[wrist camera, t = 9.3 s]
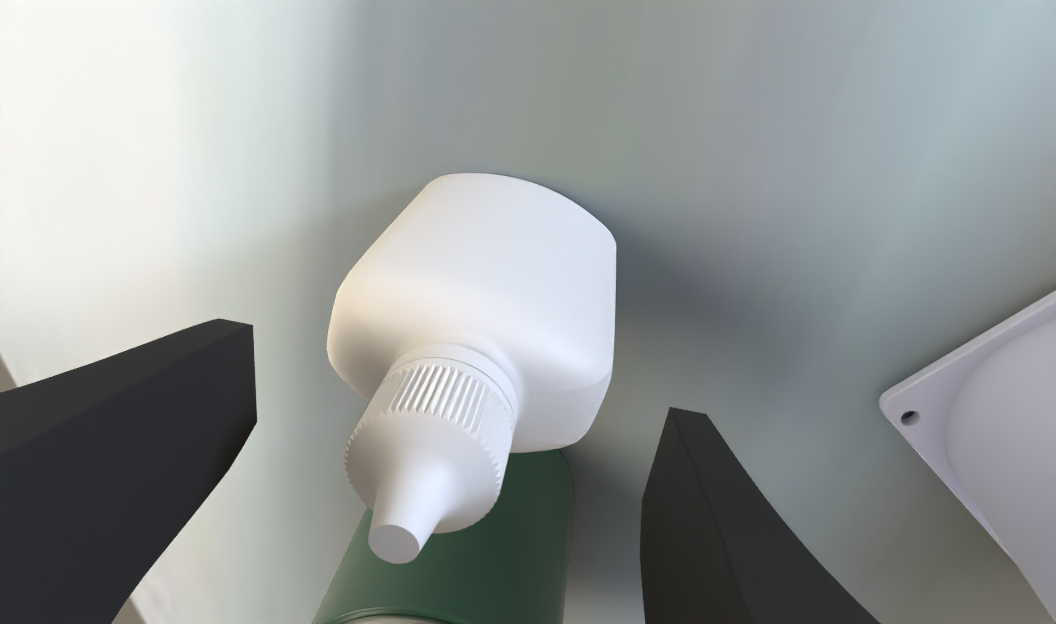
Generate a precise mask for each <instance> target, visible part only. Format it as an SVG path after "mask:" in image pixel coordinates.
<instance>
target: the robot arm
mask: <svg viewBox="0 0 1056 624" xmlns="http://www.w3.org/2000/svg"><path fill="white" fill-rule="evenodd" d="M879 406H880V408H881V410H882V412H883V414H884V415H885V417H886V418H887V419H888V420H889V421H890V422H891V423H892V424H893V426H894V427H895V428H896V429H897V430H898V431H899V432H900V433H901V435H902V436H903V437H904V438H905V439H906V440H907V441H908V443H909V444H910V445H911V446H912V447H913V448H914V449H915V450H916V452H917V453H918V454H919V455H920V456H921V457H922V458H923V459H924V461H925V462H926V463H927V464H928V465H929V466H930V467H931V469H932V470H933V471H934V472H935V473H936V474H937V475H938V476H939V478H940V479H941V480H942V481H943V482H944V483H945V484H946V485H947V487H948V488H949V489H950V490H951V491H952V492H953V493H954V495H955V496H956V497H957V498H958V499H959V500H960V501H961V502H962V504H963V505H964V506H965V507H966V508H967V509H968V510H969V511H970V513H971V514H972V515H973V516H974V517H975V518H976V519H977V520H978V522H979V523H980V524H981V525H982V526H983V527H984V528H985V530H986V531H987V532H988V533H989V534H990V535H991V536H992V537H993V539H994V540H995V541H996V542H997V543H998V544H999V545H1000V546H1001V548H1002V549H1003V550H1004V551H1005V552H1006V553H1007V554H1008V556H1009V557H1010V558H1011V559H1012V560H1013V561H1014V562H1015V563H1016V565H1017V566H1018V568H1019V569H1020V571H1021V572H1022V574H1023V575H1024V577H1025V578H1026V580H1027V581H1028V583H1029V584H1030V585H1031V587H1032V588H1033V590H1034V591H1035V593H1036V594H1037V596H1038V597H1039V599H1040V600H1041V602H1042V603H1043V605H1044V606H1045V608H1046V609H1047V611H1048V612H1049V614H1050V615H1051V617H1052V618H1053V620H1054V621H1055V623H1056V290H1055V291H1053V292H1052V293H1050V294H1048V295H1047V296H1045V297H1043V298H1042V299H1040V300H1038V301H1037V302H1035V303H1033V304H1031V305H1030V306H1028V307H1026V308H1025V309H1023V310H1021V311H1020V312H1018V313H1016V314H1015V315H1013V316H1011V317H1010V318H1008V319H1006V320H1004V321H1003V322H1001V323H999V324H998V325H996V326H994V327H993V328H991V329H989V330H988V331H986V332H984V333H983V334H981V335H979V336H977V337H976V338H974V339H972V340H971V341H969V342H967V343H966V344H964V345H962V346H961V347H959V348H957V349H956V350H954V351H952V352H951V353H949V354H947V355H945V356H944V357H942V358H940V359H939V360H937V361H935V362H934V363H932V364H930V365H929V366H927V367H925V368H924V369H922V370H920V371H918V372H917V373H915V374H913V375H912V376H910V377H908V378H907V379H905V380H903V381H902V382H900V383H898V384H897V385H895V386H893V387H891V388H890V389H888V390H887V391H885V392H884V393H883V394H882V395H881V397H880V399H879ZM909 411H914V414H913V415H912V416H910V417H908V418H901V417H902V415H903V414H904V413H906V412H909ZM256 423H257V409H256V386H255V363H254V340H253V325H250V324H245V323H240V322H235V321H230V320H224V319H215V320H211V321H207V322H204V323H201V324H198V325H195V326H192V327H189V328H186V329H183V330H181V331H178V332H175V333H172V334H170V335H167V336H164V337H162V338H159V339H156V340H154V341H151V342H148V343H146V344H143V345H140V346H137V347H135V348H132V349H129V350H127V351H124V352H121V353H119V354H116V355H113V356H110V357H108V358H105V359H102V360H100V361H97V362H94V363H91V364H88V365H85V366H82V367H79V368H76V369H73V370H70V371H67V372H64V373H61V374H58V375H55V376H52V377H49V378H46V379H43V380H40V381H37V382H34V383H31V384H28V385H25V386H22V387H18V388H15V389H12V390H8V391H5V392H1V393H0V624H111V623H112V621H113V620H114V618H115V617H116V615H117V614H118V612H119V611H120V609H121V608H122V606H123V604H124V603H125V601H126V600H127V599H128V597H129V596H130V595H131V593H132V592H133V590H134V589H135V588H136V586H137V585H138V584H139V582H140V581H141V580H142V578H143V577H144V576H145V574H146V573H147V572H148V571H149V569H150V568H151V567H152V566H153V564H154V563H155V562H156V561H157V559H158V558H159V557H160V556H161V554H162V553H163V552H164V551H165V549H166V548H167V547H168V546H169V544H170V543H171V542H172V541H173V539H174V538H175V537H176V536H177V535H178V533H179V532H180V531H181V530H182V528H183V527H184V526H185V525H186V523H187V522H188V521H189V520H190V518H191V517H192V516H193V515H194V513H195V512H196V511H197V510H198V508H199V507H200V506H201V505H202V503H203V502H204V501H205V500H206V498H207V497H208V496H209V495H210V493H211V492H212V491H213V489H214V488H215V487H216V486H217V484H218V483H219V482H220V481H221V479H222V478H223V477H224V475H225V474H226V473H227V471H228V470H229V469H230V467H231V465H232V464H233V462H234V461H235V459H236V457H237V456H238V454H239V452H240V451H241V449H242V448H243V446H244V444H245V442H246V440H247V439H248V437H249V435H250V433H251V432H252V430H253V428H254V426H255V425H256ZM640 564H641V577H642V589H643V601H644V613H645V624H880V623H879V622H878V621H877V620H876V619H875V618H874V617H873V616H872V615H871V614H870V613H869V612H868V611H867V610H866V609H864V608H863V607H862V606H861V605H860V604H859V603H858V602H857V601H856V600H855V599H854V598H853V597H852V596H851V595H850V594H849V593H848V592H847V591H846V590H845V589H844V588H843V587H842V586H841V584H840V583H839V582H838V581H837V580H836V579H835V578H834V577H833V576H832V575H831V574H830V573H829V572H828V571H827V570H826V569H825V568H824V567H823V566H822V565H821V564H820V563H819V562H818V560H817V559H816V558H815V557H814V556H813V555H812V554H811V553H810V552H809V551H808V549H807V548H806V547H805V546H804V545H803V543H802V542H801V541H800V540H799V539H798V538H797V536H796V535H795V534H794V533H793V532H792V530H791V529H790V528H789V527H788V526H787V524H786V523H785V522H784V521H783V520H782V518H781V517H780V516H779V515H778V513H777V512H776V511H775V510H774V508H773V507H772V506H771V505H770V503H769V502H768V501H767V499H766V498H765V497H764V495H763V494H762V493H761V491H760V490H759V489H758V487H757V486H756V485H755V483H754V482H753V481H752V479H751V478H750V476H749V475H748V474H747V472H746V471H745V469H744V468H743V467H742V465H741V464H740V462H739V461H738V459H737V458H736V457H735V455H734V454H733V452H732V451H731V449H730V448H729V446H728V445H727V443H726V442H725V441H724V439H723V438H722V436H721V435H720V433H719V432H718V430H717V429H716V427H715V426H714V424H713V423H712V421H711V420H710V419H709V417H708V416H707V414H703V413H698V412H693V411H688V410H683V409H677V408H672V407H670V408H669V411H668V415H667V418H666V421H665V425H664V428H663V432H662V435H661V438H660V442H659V445H658V448H657V452H656V455H655V458H654V462H653V465H652V468H651V472H650V475H649V479H648V482H647V485H646V489H645V492H644V495H643V499H642V512H641V534H640Z"/></svg>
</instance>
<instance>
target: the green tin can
mask: <svg viewBox="0 0 1056 624" xmlns="http://www.w3.org/2000/svg"><path fill="white" fill-rule="evenodd" d="M573 504H574V484H573V479H572V475H571V473H570V470H569V467H568V465H567V463H566V461H565V460H564V458H563V456H562V455H561V453H560V452H559V451H558V449H552V450H546V451H535V452H523V453H509V456H508V460H507V465H506V469H505V473H504V477H503V482H502V486H501V490H500V494H499V496H498V498H497V502H495V503H494V506H493V508H491V509H490V511H489V513H487V514H485V517H483V518H481V519H480V521H478V522H476V523H474V525H471V526H468V527H467V528H464V529H461V530H458V531H454V532H448V533H434V534H432V533H431V535H430V537H429V538H428V540H427V541H426V543H425V544H424V546H423V547H422V549H421V551H420V552H419V554H418V555H417V557H416V558H415V559H414V560H412V561H410V562H408V563H403V564H395V563H390V562H387V561H384V560H382V559H381V558H379V557H378V556H377V555H375V554H374V553H373V551H372V550H371V548H370V546H369V543H368V537H369V532H370V527H371V521H372V516H373V511H372V510H371V509H370V508H369V507H367V509H366V511H365V513H364V515H363V517H362V519H361V522H360V524H359V526H358V528H357V530H356V532H355V534H354V536H353V538H352V540H351V543H350V545H349V547H348V549H347V551H346V553H345V555H344V557H343V559H342V561H341V563H340V566H339V568H338V570H337V572H336V574H335V576H334V578H333V580H332V582H331V584H330V587H329V589H328V591H327V593H326V595H325V597H324V599H323V601H322V603H321V605H320V608H319V610H318V612H317V614H316V616H315V618H314V620H313V622H312V624H563V615H564V604H565V593H566V582H567V571H568V560H569V548H570V537H571V526H572V515H573Z"/></svg>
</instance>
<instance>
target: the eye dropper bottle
mask: <svg viewBox="0 0 1056 624" xmlns="http://www.w3.org/2000/svg"><path fill="white" fill-rule="evenodd" d="M615 297H616V242H615V240H614V238H613V236H612V234H611V232H610V231H609V230H608V229H607V228H606V227H605V226H604V225H603V224H602V223H601V222H600V221H598V220H597V219H596V218H595V217H594V216H592V215H591V214H590V213H589V212H587V211H586V210H585V209H583V208H582V207H580V206H579V205H577V204H576V203H574V202H573V201H571V200H569V199H567V198H566V197H564V196H562V195H560V194H558V193H556V192H554V191H552V190H550V189H548V188H545V187H543V186H540V185H537V184H535V183H532V182H528V181H525V180H521V179H517V178H513V177H508V176H503V175H495V174H483V173H460V174H450V175H444V176H441V177H438V178H436V179H434V180H432V181H431V182H430V183H429V184H428V185H427V186H426V187H425V188H424V189H423V190H422V191H421V192H420V193H419V194H418V195H417V197H416V198H415V199H414V200H413V201H412V202H411V203H410V204H409V205H408V206H407V207H406V208H405V210H404V211H403V212H402V213H401V214H400V215H399V216H398V217H397V218H396V219H395V220H394V222H393V223H392V224H391V225H390V226H389V227H388V228H387V229H386V230H385V231H384V233H383V234H382V235H381V236H380V237H379V238H378V239H377V240H376V241H375V243H374V244H373V245H372V246H371V247H370V248H369V249H368V250H367V251H366V253H365V254H364V255H363V256H362V257H361V259H360V260H359V261H358V262H357V263H356V265H355V266H354V267H353V268H352V269H351V271H350V272H349V273H348V275H347V276H346V278H345V280H344V281H343V283H342V285H341V286H340V288H339V290H338V292H337V295H336V299H335V303H334V307H333V311H332V316H331V321H330V326H329V332H328V340H327V352H328V357H329V361H330V363H331V365H332V366H333V368H334V369H335V371H336V372H337V374H338V375H339V376H340V377H341V378H342V379H343V380H344V381H345V382H346V383H347V384H348V385H349V386H350V387H351V388H352V389H353V390H354V391H355V392H356V393H357V394H359V395H360V396H361V397H362V398H363V399H364V400H365V401H367V402H368V403H369V405H368V407H367V409H366V410H365V412H364V414H363V415H362V417H361V419H360V421H359V422H358V424H357V426H356V427H355V429H354V431H353V432H352V434H351V436H350V439H349V441H348V443H347V444H348V446H347V448H346V455H345V458H346V461H345V464H346V466H347V468H346V470H347V473H348V477H349V479H350V483H351V484H352V486H353V489H354V490H355V491H356V493H357V495H358V496H359V497H360V499H361V500H362V501H363V502H364V503H365V504H366V505H367V506H368V507H369V508H370V509H371V510H372V511H373V516H372V521H371V527H370V532H369V537H368V543H369V546H370V548H371V550H372V551H373V553H374V554H375V555H377V556H378V557H379V558H381V559H382V560H384V561H387V562H390V563H395V564H403V563H408V562H410V561H412V560H414V559H415V558H416V557H417V555H418V554H419V552H420V551H421V549H422V547H423V546H424V544H425V543H426V541H427V540H428V538H429V537H430V535H431V533H432V534H434V533H448V532H454V531H458V530H461V529H464V528H467V527H468V526H471V525H474V523H476V522H478V521H480V519H481V518H483V517H485V514H487V513H489V511H490V509H491V508H493V506H494V503H495V502H497V498H498V496H499V494H500V490H501V486H502V482H503V477H504V473H505V469H506V465H507V460H508V456H509V453H523V452H535V451H546V450H552V449H558V448H563V447H566V446H568V445H571V444H574V443H576V442H578V441H579V440H580V439H581V438H582V437H583V436H584V435H585V434H586V433H587V432H588V430H589V428H590V426H591V424H592V423H593V421H594V419H595V417H596V415H597V412H598V410H599V408H600V406H601V403H602V401H603V399H604V396H605V394H606V391H607V388H608V385H609V383H610V379H611V375H612V366H613V350H614V333H615Z"/></svg>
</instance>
